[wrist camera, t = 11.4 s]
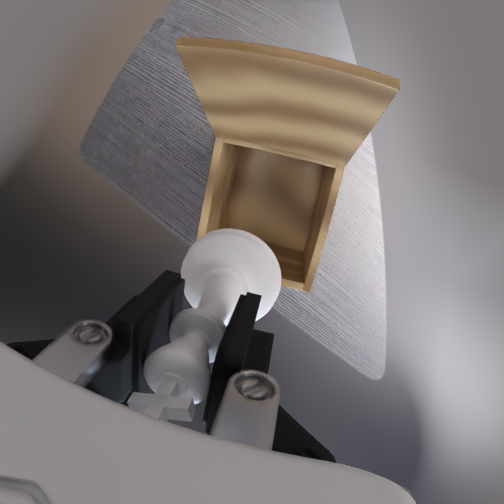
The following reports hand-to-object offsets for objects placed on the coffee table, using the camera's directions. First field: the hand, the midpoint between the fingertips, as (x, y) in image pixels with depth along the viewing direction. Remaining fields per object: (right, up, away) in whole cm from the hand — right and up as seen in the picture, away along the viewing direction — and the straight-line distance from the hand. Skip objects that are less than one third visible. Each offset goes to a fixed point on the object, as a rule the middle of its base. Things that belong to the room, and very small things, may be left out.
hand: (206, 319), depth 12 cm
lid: (+4, +12, +10) cm, 16 cm away
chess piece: (+1, +1, +4) cm, 5 cm away
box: (+5, +10, +31) cm, 33 cm away
